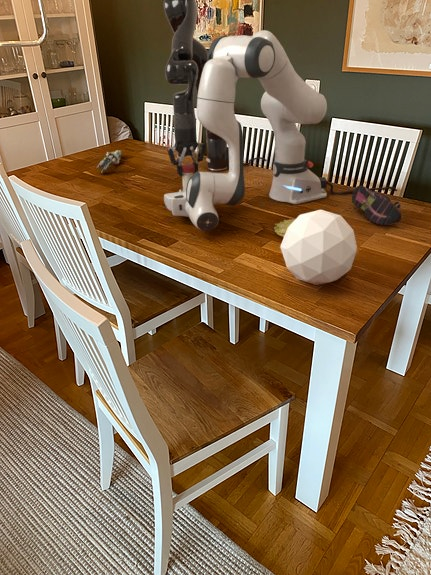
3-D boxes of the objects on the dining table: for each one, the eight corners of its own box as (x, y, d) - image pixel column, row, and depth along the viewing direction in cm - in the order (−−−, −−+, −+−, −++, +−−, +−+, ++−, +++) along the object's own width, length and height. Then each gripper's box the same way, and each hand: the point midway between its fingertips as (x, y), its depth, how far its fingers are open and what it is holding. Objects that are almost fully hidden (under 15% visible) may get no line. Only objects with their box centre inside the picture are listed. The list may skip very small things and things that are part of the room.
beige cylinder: (190, 205, 169) (188, 166, 161) (198, 207, 167) (196, 168, 159) (181, 208, 167) (179, 169, 159) (189, 211, 164) (187, 171, 156)
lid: (177, 171, 159) (177, 166, 158) (188, 167, 162) (187, 162, 161) (187, 174, 156) (187, 169, 155) (197, 170, 159) (197, 165, 158)
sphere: (293, 297, 126) (258, 236, 124) (350, 261, 128) (317, 201, 126) (319, 302, 107) (278, 231, 105) (385, 260, 109) (347, 189, 107)
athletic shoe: (393, 214, 141) (421, 210, 145) (357, 172, 153) (384, 169, 157) (376, 239, 150) (403, 235, 154) (344, 197, 161) (370, 194, 166)
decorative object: (286, 211, 157) (342, 219, 147) (286, 217, 158) (341, 226, 148) (260, 233, 142) (319, 243, 133) (260, 240, 144) (319, 251, 134)
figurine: (101, 154, 197) (119, 141, 223) (91, 167, 200) (110, 152, 227) (114, 165, 199) (130, 151, 225) (103, 178, 203) (121, 162, 229)
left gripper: (200, 121, 156) (202, 168, 165) (161, 125, 151) (165, 174, 160) (208, 125, 150) (210, 174, 159) (168, 130, 145) (172, 180, 154)
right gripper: (225, 191, 153) (215, 179, 164) (167, 199, 149) (160, 185, 160) (225, 209, 156) (215, 195, 168) (168, 216, 152) (162, 202, 164)
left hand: (187, 174), depth 160 cm, fingers closed on lid, 5 cm apart
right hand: (188, 190), depth 164 cm, fingers closed on beige cylinder, 4 cm apart
